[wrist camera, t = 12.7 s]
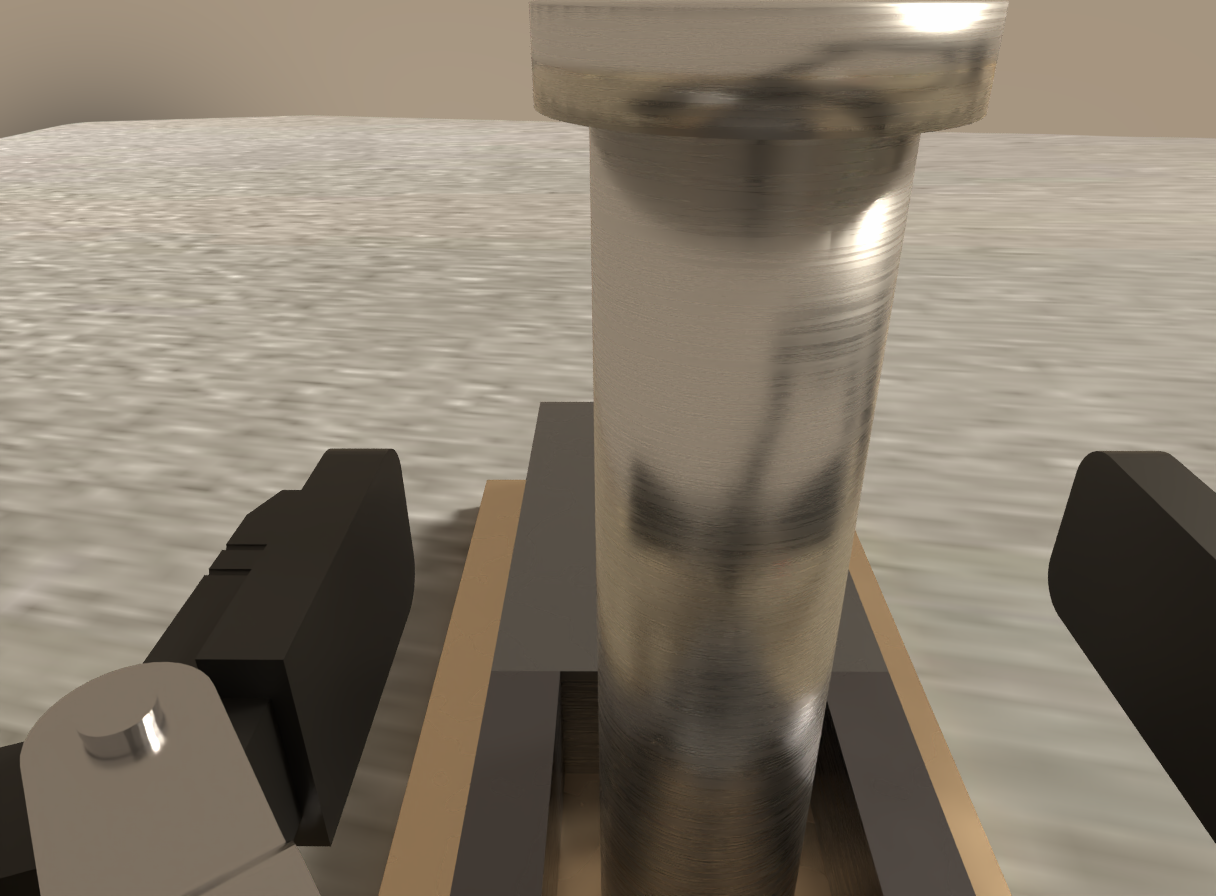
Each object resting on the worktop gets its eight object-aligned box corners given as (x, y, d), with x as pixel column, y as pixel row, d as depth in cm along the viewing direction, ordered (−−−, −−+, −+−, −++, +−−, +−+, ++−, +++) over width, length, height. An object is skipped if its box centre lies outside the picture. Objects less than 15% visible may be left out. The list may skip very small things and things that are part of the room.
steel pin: (670, 748, 19) (702, -7, 12) (869, 876, 16) (1073, -3, 9) (516, 904, 16) (431, 2, 9) (731, 1095, 13) (874, 12, 6)
